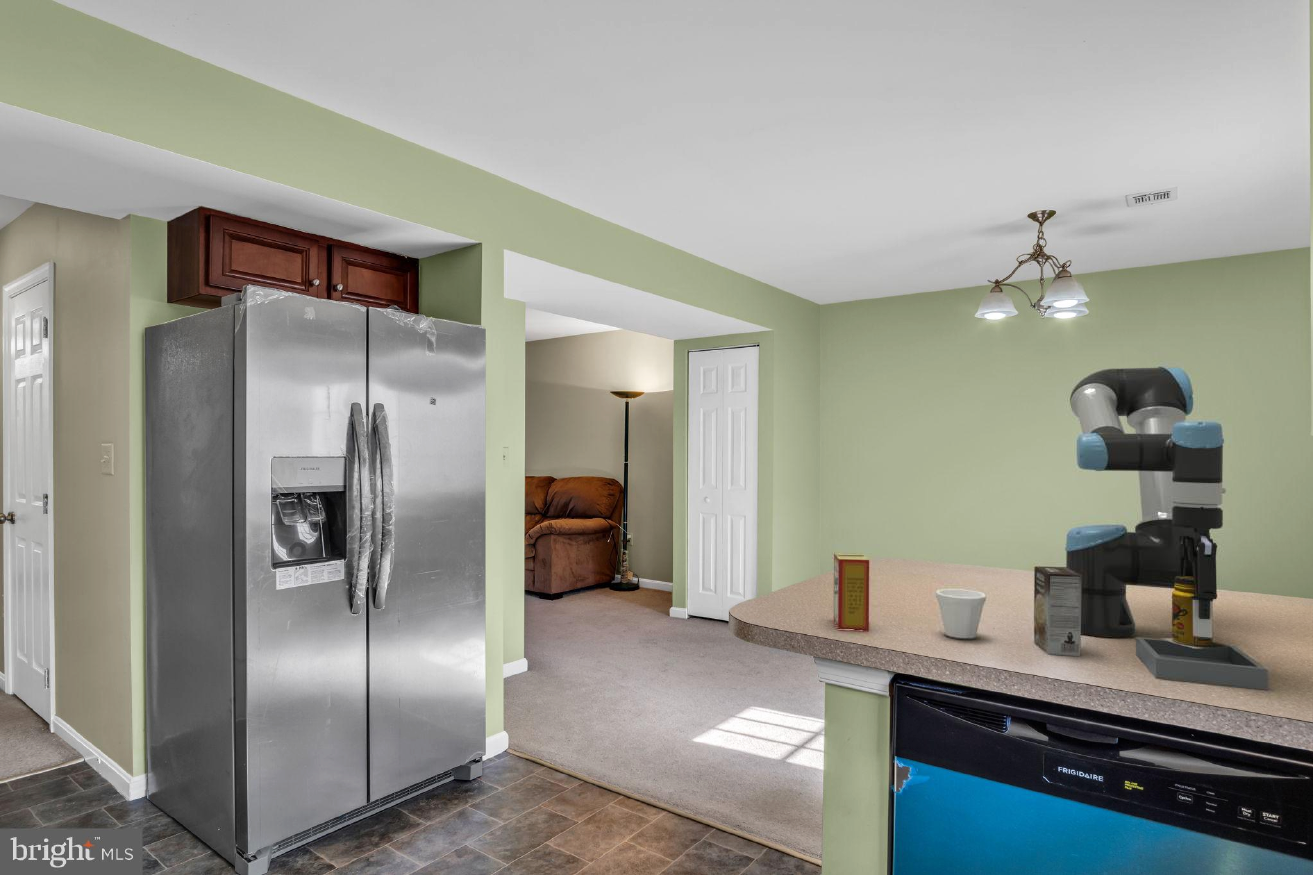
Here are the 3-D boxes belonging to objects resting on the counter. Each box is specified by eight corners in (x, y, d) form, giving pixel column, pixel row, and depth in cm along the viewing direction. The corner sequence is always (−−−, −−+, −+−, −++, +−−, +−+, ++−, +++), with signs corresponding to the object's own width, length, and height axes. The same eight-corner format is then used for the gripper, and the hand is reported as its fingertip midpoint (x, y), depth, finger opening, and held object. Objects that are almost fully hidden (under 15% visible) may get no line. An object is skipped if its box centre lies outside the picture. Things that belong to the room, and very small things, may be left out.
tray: (1155, 678, 131) (1155, 658, 131) (1135, 654, 146) (1135, 636, 146) (1267, 690, 125) (1267, 669, 125) (1234, 664, 140) (1235, 645, 140)
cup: (975, 645, 152) (976, 599, 152) (927, 636, 159) (928, 593, 159) (992, 636, 159) (992, 593, 159) (946, 628, 166) (946, 586, 166)
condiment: (1160, 639, 139) (1160, 574, 139) (1199, 637, 140) (1199, 574, 140) (1194, 649, 131) (1194, 581, 132) (1235, 648, 133) (1235, 581, 133)
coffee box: (1032, 642, 155) (1032, 565, 155) (1065, 644, 153) (1065, 566, 154) (1047, 654, 145) (1047, 572, 146) (1082, 656, 144) (1083, 574, 145)
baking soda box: (868, 631, 163) (869, 558, 163) (838, 630, 163) (838, 557, 164) (862, 621, 172) (862, 552, 172) (833, 620, 173) (834, 551, 173)
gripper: (1240, 510, 126) (1240, 647, 125) (1205, 503, 143) (1205, 623, 143) (1187, 508, 128) (1187, 642, 128) (1159, 501, 146) (1159, 619, 146)
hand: (1196, 631), depth 136 cm, fingers closed on condiment, 6 cm apart
